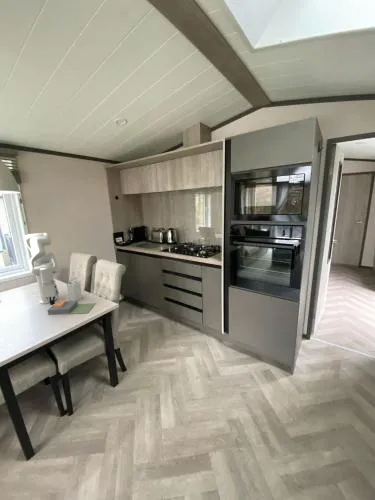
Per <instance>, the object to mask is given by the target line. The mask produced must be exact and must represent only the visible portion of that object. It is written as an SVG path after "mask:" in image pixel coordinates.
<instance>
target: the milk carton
mask: <svg viewBox="0 0 375 500" xmlns="http://www.w3.org/2000/svg"><path fill="white" fill-rule="evenodd" d="M66 287H67V292H68V298H69V301H78V302H79V300H81V299H82V298H83V293H82V287H81V281H80V280H79V279H78V278H77V277H73V278H70V279H69V280H68V282H67V283H66Z"/></svg>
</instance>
